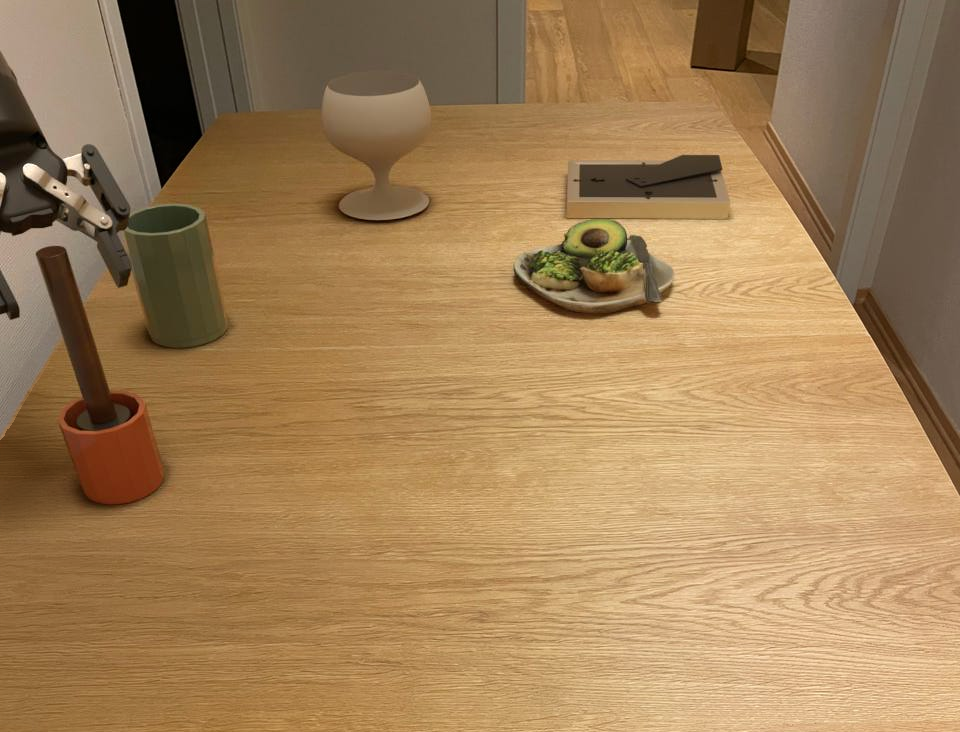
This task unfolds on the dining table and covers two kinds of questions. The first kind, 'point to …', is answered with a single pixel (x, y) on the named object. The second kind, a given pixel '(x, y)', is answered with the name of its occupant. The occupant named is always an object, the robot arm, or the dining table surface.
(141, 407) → the pot
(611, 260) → the avocado toast plate
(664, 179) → the picture frame
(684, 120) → the dining table surface
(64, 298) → the brush
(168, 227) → the sage green cup
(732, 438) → the dining table surface
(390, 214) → the chalice
